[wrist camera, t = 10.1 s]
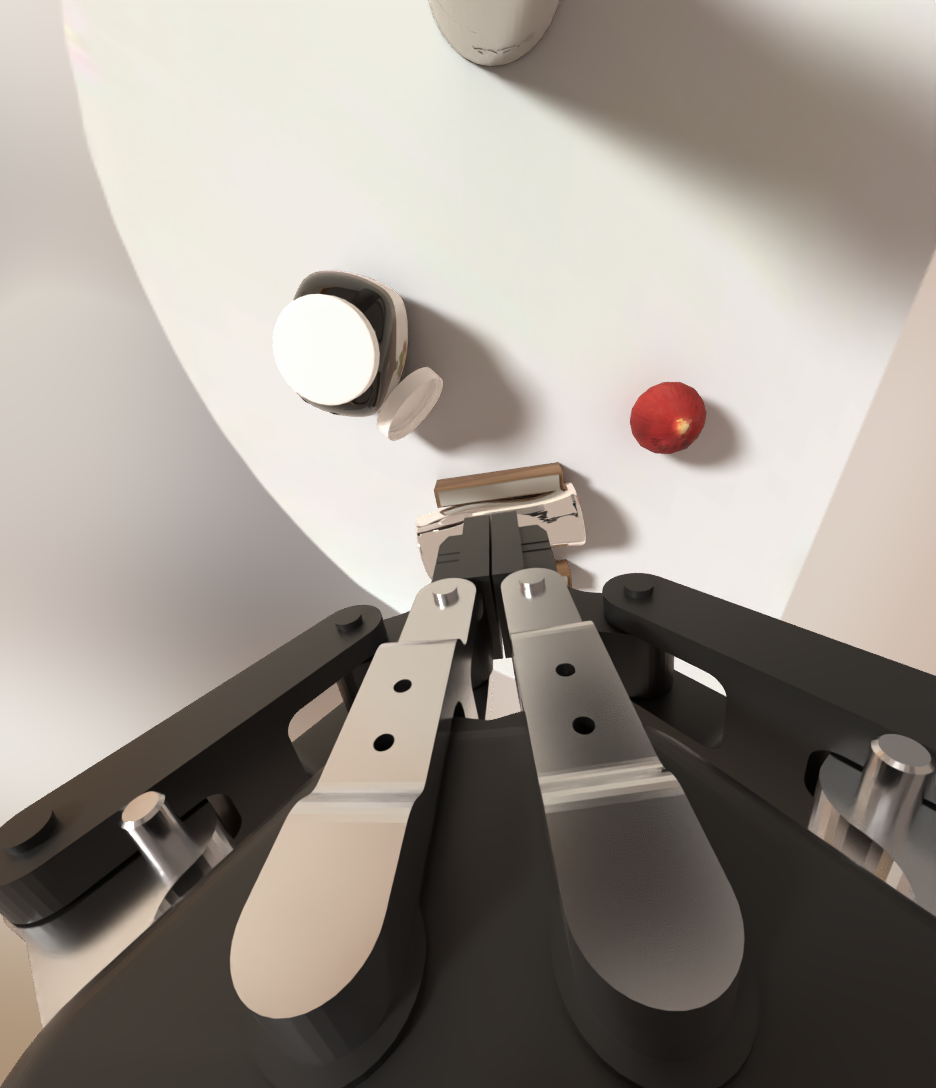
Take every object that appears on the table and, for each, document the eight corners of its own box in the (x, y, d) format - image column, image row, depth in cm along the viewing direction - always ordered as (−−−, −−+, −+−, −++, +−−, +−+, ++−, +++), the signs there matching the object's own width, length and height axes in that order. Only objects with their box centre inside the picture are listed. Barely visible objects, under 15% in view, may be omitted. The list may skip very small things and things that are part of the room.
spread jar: (328, 268, 38) (268, 249, 28) (461, 302, 39) (450, 297, 29) (316, 411, 44) (262, 441, 33) (433, 439, 44) (416, 477, 34)
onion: (691, 428, 43) (731, 450, 36) (629, 451, 44) (656, 477, 37) (678, 366, 41) (718, 377, 33) (613, 392, 42) (639, 408, 35)
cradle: (437, 480, 46) (433, 491, 43) (558, 462, 45) (563, 472, 42) (458, 587, 51) (457, 603, 48) (567, 574, 50) (572, 590, 47)
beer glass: (572, 469, 41) (410, 509, 42) (591, 546, 40) (425, 584, 42) (566, 484, 47) (426, 518, 49) (582, 550, 47) (440, 582, 49)
